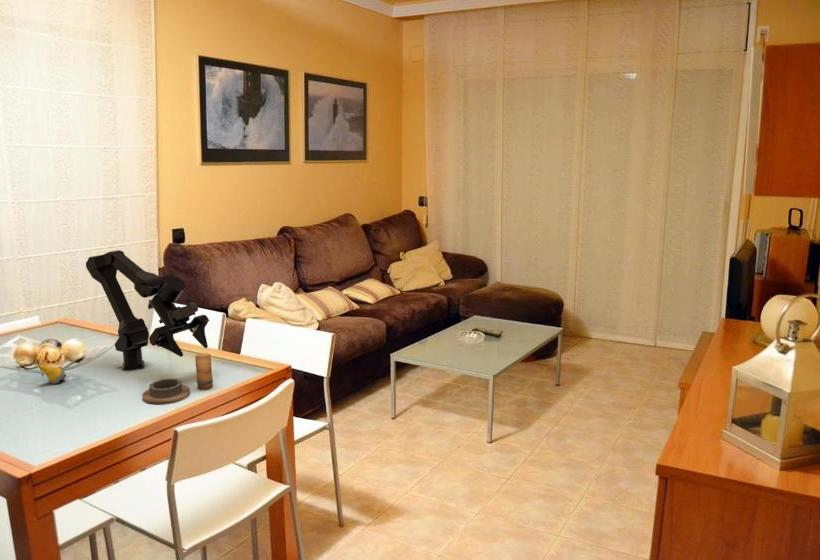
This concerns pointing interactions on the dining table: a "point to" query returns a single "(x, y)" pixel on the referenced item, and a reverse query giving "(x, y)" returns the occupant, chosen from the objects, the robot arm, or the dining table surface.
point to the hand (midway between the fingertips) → (194, 351)
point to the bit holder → (166, 392)
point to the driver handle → (204, 371)
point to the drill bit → (53, 373)
